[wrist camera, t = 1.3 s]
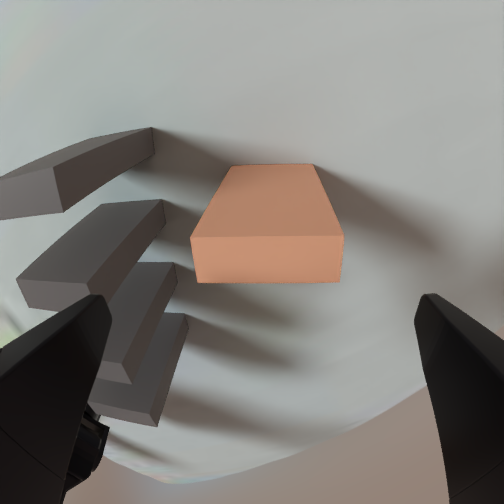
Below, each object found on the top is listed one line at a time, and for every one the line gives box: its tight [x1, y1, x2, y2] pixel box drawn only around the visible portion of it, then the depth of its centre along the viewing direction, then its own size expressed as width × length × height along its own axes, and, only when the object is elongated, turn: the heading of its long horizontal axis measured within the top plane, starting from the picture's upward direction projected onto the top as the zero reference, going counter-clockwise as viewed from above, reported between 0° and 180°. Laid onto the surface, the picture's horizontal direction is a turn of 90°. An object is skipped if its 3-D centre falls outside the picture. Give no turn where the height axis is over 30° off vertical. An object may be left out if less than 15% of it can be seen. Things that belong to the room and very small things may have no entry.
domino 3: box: [96, 262, 177, 384], centre depth 19 cm, size 2×5×10 cm, turn 93°
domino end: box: [190, 164, 344, 283], centre depth 15 cm, size 2×5×10 cm, turn 93°
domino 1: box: [0, 127, 155, 220], centre depth 14 cm, size 2×5×10 cm, turn 93°
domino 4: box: [87, 313, 189, 427], centre depth 21 cm, size 2×5×10 cm, turn 93°
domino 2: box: [16, 199, 166, 312], centre depth 16 cm, size 2×5×10 cm, turn 93°
